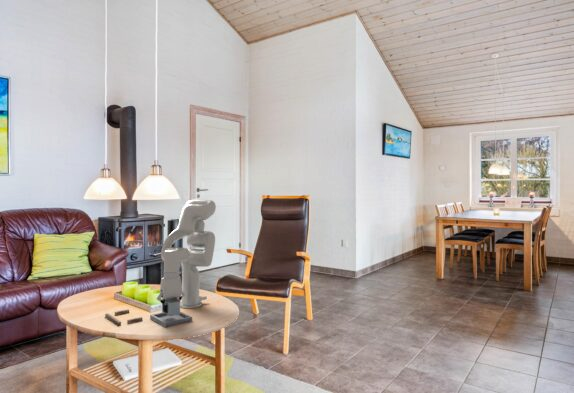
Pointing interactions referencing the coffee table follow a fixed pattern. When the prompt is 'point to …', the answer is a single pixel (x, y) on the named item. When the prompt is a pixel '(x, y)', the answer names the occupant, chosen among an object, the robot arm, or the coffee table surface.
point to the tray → (170, 319)
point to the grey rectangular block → (173, 307)
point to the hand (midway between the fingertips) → (170, 311)
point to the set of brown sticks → (119, 314)
